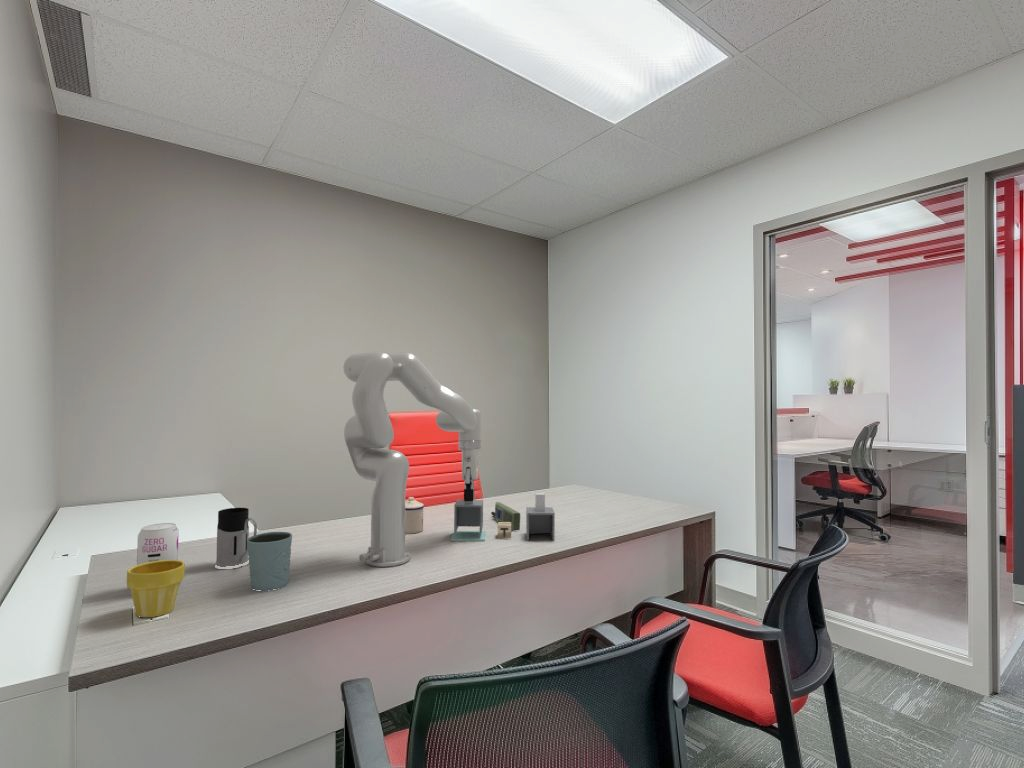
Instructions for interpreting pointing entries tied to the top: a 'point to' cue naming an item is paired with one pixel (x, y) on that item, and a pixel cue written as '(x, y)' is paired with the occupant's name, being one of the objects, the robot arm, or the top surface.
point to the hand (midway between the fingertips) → (469, 499)
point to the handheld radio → (507, 515)
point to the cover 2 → (540, 517)
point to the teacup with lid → (413, 516)
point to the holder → (233, 536)
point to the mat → (468, 536)
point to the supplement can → (157, 543)
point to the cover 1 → (468, 514)
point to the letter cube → (504, 529)
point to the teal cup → (269, 560)
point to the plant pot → (155, 586)
